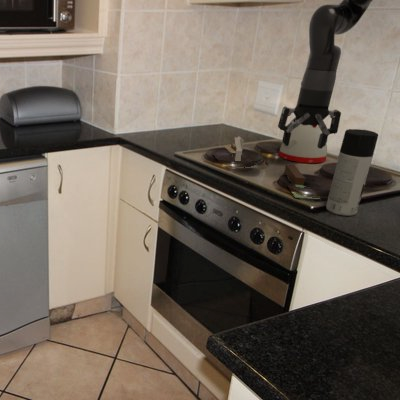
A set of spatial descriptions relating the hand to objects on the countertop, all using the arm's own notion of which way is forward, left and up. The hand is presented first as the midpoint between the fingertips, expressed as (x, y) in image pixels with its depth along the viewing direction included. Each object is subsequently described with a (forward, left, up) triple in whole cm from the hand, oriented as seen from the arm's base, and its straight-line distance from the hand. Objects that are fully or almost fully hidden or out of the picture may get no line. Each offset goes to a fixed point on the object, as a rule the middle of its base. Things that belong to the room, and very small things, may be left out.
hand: (302, 146), depth 131 cm
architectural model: (+14, -18, -11) cm, 26 cm away
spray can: (-6, +19, -11) cm, 22 cm away
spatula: (0, +3, -11) cm, 11 cm away
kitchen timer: (-9, -28, -11) cm, 31 cm away
